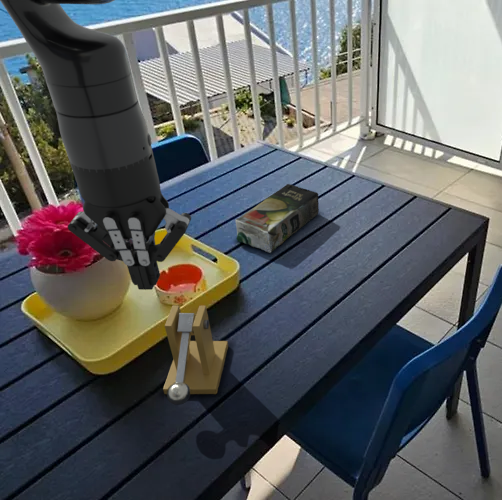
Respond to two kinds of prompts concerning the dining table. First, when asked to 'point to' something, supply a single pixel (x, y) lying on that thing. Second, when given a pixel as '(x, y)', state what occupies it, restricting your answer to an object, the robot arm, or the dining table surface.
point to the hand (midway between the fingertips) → (148, 285)
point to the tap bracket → (196, 354)
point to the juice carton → (277, 217)
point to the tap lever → (182, 361)
